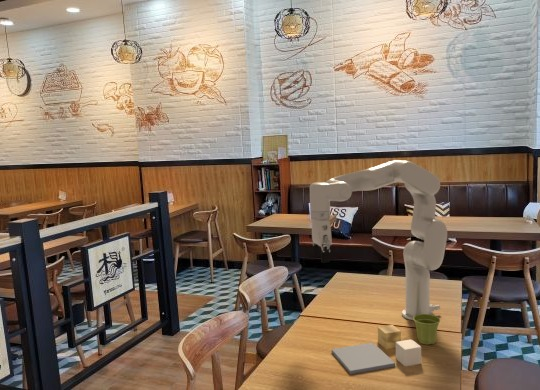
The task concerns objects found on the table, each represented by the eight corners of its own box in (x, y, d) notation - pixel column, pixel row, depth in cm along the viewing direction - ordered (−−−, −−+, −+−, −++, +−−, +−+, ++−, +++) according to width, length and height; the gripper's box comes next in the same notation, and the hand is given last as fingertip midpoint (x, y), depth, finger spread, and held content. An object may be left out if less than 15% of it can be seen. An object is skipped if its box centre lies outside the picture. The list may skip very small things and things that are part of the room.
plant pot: (409, 343, 169) (409, 320, 168) (417, 333, 177) (417, 312, 176) (436, 349, 164) (436, 325, 163) (442, 339, 172) (443, 316, 171)
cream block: (411, 355, 160) (411, 339, 159) (421, 363, 154) (421, 346, 154) (395, 358, 159) (395, 341, 158) (405, 366, 153) (404, 349, 152)
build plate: (372, 345, 169) (372, 342, 168) (395, 366, 153) (395, 363, 153) (331, 352, 165) (331, 349, 165) (350, 374, 149) (350, 370, 149)
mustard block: (392, 340, 173) (392, 324, 172) (400, 347, 167) (400, 331, 166) (377, 342, 171) (377, 327, 170) (385, 349, 165) (385, 333, 165)
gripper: (338, 218, 168) (339, 264, 170) (321, 211, 185) (322, 252, 187) (318, 219, 166) (319, 266, 169) (303, 212, 183) (305, 254, 185)
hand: (321, 259), depth 178 cm, fingers open, 9 cm apart
